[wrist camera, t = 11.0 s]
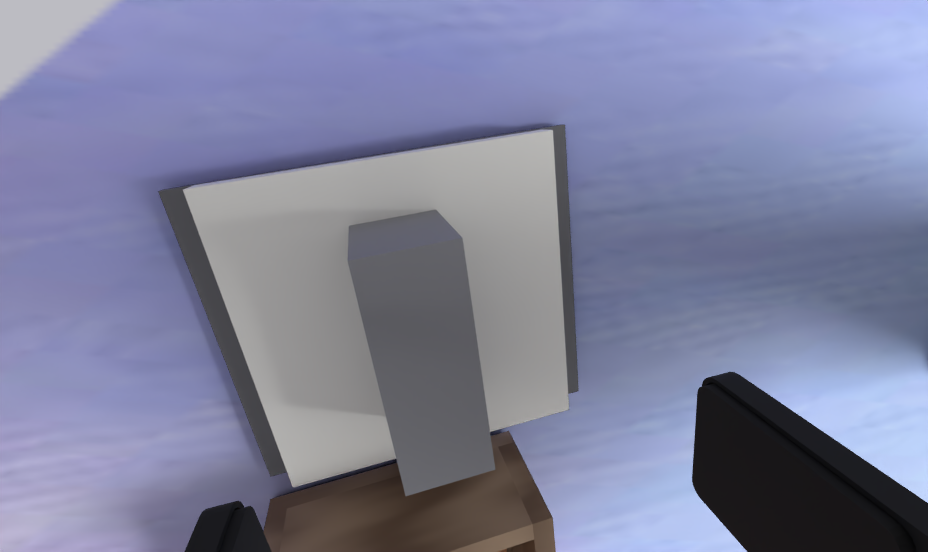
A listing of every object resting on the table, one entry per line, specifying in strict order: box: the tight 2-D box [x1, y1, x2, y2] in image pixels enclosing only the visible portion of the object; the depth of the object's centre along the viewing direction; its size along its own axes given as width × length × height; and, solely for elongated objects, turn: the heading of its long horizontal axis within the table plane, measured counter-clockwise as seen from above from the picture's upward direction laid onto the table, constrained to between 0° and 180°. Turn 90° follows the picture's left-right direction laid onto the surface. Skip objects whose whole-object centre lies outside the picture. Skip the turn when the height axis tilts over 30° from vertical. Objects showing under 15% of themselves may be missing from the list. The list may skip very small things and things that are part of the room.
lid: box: [183, 129, 569, 496], centre depth 15 cm, size 12×12×5 cm
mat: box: [158, 125, 578, 476], centre depth 17 cm, size 14×12×1 cm
